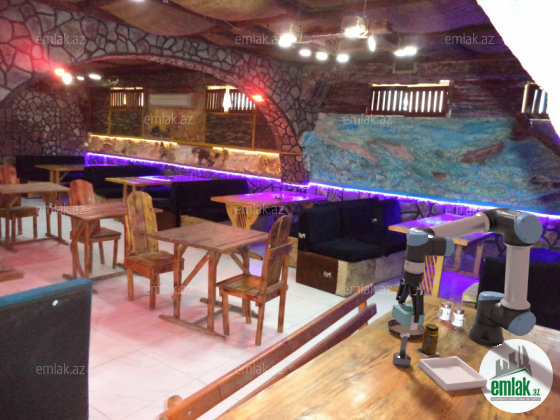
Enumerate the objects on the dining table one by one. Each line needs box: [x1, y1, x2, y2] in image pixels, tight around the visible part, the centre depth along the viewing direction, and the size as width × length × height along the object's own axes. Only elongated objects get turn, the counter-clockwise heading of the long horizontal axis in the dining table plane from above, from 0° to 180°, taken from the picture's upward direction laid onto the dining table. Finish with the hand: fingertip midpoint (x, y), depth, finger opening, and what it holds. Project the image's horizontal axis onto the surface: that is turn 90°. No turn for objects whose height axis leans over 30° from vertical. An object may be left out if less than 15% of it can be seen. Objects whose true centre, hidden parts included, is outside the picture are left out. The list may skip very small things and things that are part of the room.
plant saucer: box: [386, 318, 426, 339], centre depth 212 cm, size 18×18×3 cm
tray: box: [417, 355, 488, 392], centre depth 175 cm, size 18×18×3 cm
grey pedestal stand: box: [392, 333, 412, 369], centre depth 181 cm, size 7×7×13 cm
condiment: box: [414, 323, 441, 359], centre depth 192 cm, size 7×8×12 cm
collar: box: [391, 303, 426, 326], centre depth 178 cm, size 9×9×5 cm
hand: (406, 324), depth 179 cm, fingers closed on collar, 9 cm apart
